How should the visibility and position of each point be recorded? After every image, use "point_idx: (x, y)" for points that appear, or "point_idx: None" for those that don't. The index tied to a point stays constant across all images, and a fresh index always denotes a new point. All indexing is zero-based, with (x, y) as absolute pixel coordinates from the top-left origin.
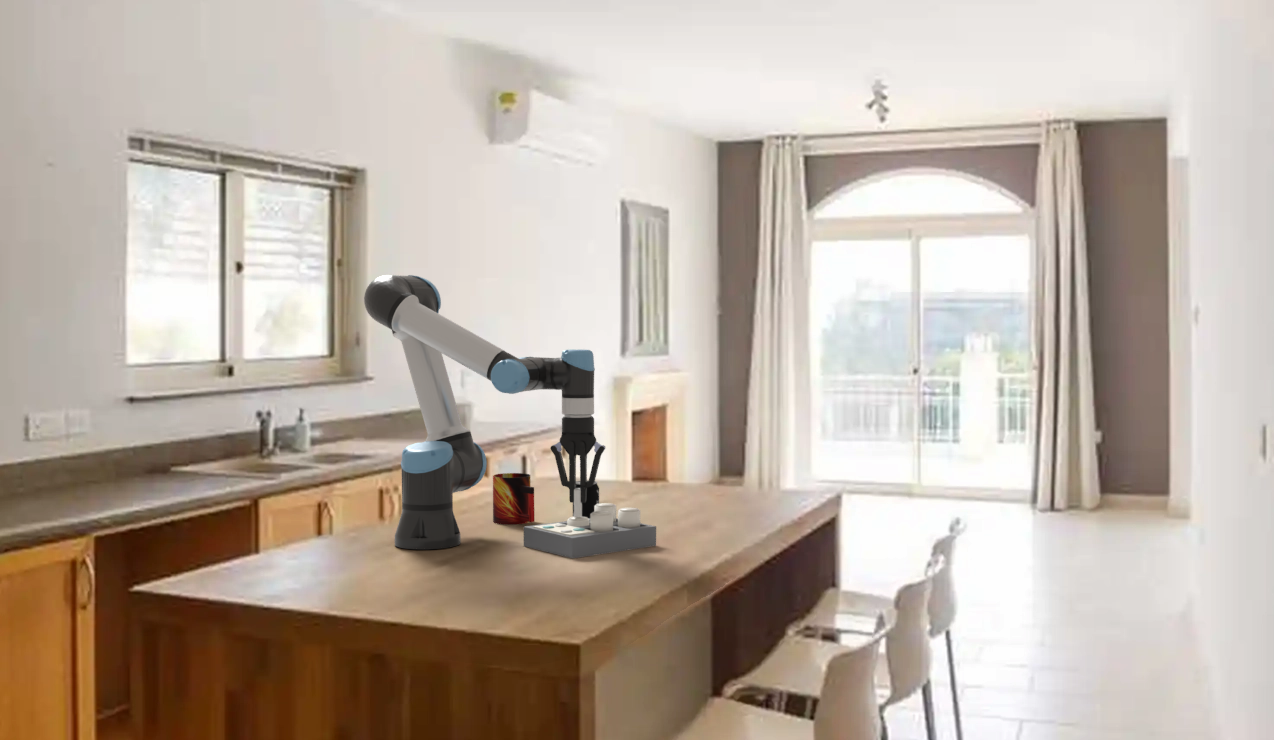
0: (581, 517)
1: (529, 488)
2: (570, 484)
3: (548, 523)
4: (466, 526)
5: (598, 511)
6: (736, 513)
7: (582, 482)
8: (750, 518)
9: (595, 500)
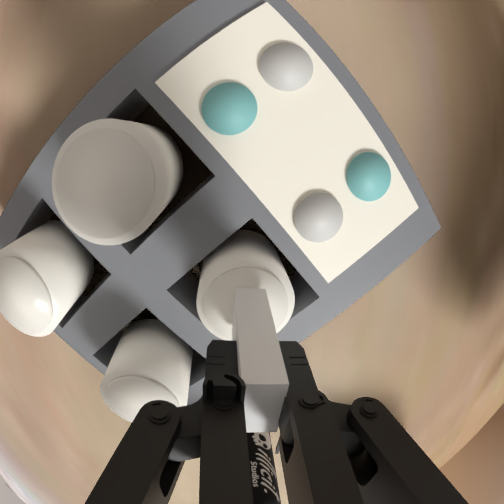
0: (232, 317)
1: None
2: (322, 411)
3: (359, 297)
4: (453, 403)
5: (122, 221)
6: (41, 475)
7: (225, 428)
8: (9, 448)
9: None
